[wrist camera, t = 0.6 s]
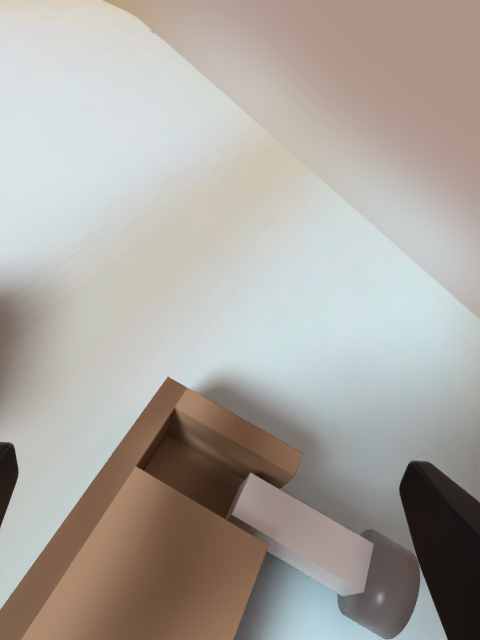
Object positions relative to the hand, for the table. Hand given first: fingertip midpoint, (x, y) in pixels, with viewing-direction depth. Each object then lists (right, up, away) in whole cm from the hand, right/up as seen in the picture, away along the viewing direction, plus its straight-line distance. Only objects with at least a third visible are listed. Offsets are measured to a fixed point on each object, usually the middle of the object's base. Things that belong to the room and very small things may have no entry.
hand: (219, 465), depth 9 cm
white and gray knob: (+4, -9, +12) cm, 16 cm away
